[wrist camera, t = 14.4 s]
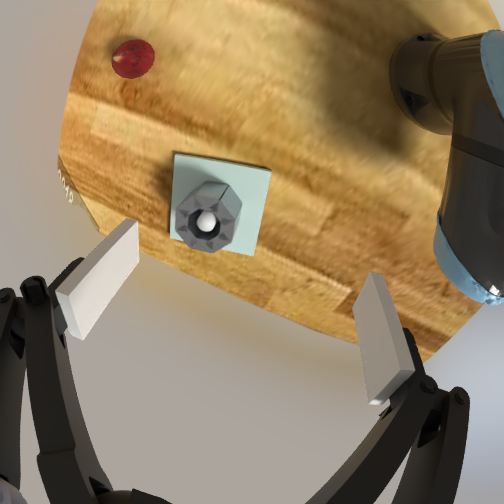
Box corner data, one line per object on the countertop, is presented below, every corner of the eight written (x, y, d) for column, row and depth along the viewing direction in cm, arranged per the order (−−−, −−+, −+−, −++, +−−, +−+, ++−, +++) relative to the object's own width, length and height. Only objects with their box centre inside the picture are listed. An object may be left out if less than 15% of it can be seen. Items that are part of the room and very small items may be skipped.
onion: (153, 35, 30) (124, 27, 23) (170, 63, 32) (143, 59, 25) (123, 58, 32) (91, 56, 25) (139, 85, 34) (109, 87, 27)
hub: (191, 177, 40) (177, 191, 35) (245, 187, 40) (238, 203, 35) (187, 225, 44) (174, 244, 39) (236, 236, 44) (229, 257, 39)
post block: (177, 153, 39) (159, 164, 34) (271, 170, 39) (268, 184, 33) (172, 235, 47) (157, 255, 41) (254, 252, 46) (248, 276, 41)
